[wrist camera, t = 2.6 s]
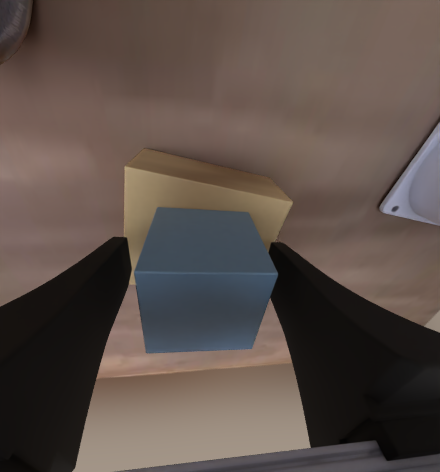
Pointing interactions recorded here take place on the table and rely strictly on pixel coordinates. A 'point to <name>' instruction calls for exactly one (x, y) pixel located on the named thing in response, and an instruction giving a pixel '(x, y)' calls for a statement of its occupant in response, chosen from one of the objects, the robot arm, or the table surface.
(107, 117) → the table surface
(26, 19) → the tin
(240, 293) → the blue cube
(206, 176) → the birch plinth
